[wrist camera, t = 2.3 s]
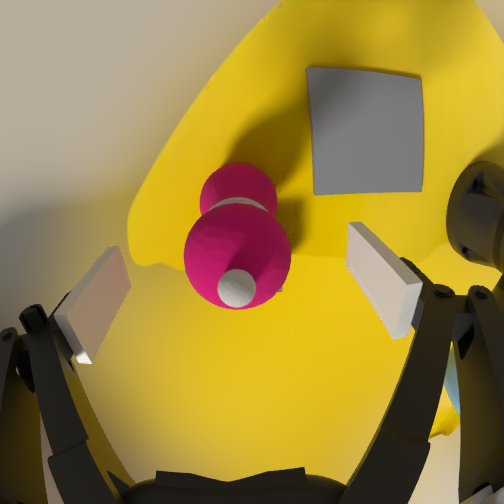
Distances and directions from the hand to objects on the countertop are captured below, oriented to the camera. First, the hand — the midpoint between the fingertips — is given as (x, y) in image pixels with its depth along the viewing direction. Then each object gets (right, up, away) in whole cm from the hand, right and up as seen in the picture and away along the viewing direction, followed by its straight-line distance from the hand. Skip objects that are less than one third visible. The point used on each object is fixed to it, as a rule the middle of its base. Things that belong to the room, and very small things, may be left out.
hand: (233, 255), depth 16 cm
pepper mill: (0, +7, +15) cm, 16 cm away
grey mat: (+14, +14, +12) cm, 23 cm away
